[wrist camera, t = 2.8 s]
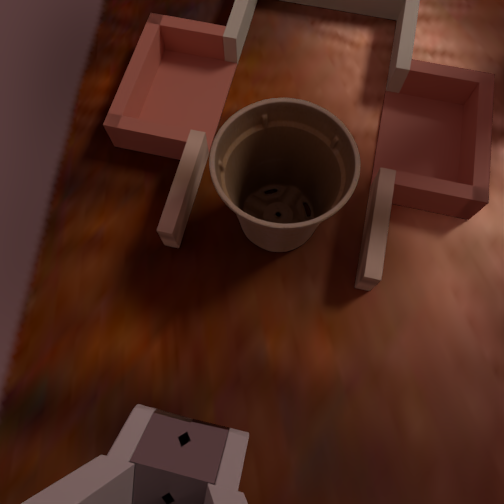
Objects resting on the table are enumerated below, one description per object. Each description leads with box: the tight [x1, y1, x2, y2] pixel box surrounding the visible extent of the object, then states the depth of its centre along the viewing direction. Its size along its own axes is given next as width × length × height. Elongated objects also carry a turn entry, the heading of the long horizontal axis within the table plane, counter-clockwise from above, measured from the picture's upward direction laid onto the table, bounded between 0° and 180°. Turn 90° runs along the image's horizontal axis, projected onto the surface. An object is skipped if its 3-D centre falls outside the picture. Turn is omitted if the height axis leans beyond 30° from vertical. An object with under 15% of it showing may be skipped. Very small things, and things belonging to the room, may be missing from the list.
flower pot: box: [209, 98, 360, 252], centre depth 30 cm, size 9×9×9 cm
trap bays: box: [103, 13, 495, 220], centre depth 36 cm, size 12×30×3 cm, turn 77°
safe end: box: [223, 0, 420, 93], centre depth 39 cm, size 10×16×3 cm, turn 77°
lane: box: [156, 129, 396, 291], centre depth 33 cm, size 9×16×3 cm, turn 77°
